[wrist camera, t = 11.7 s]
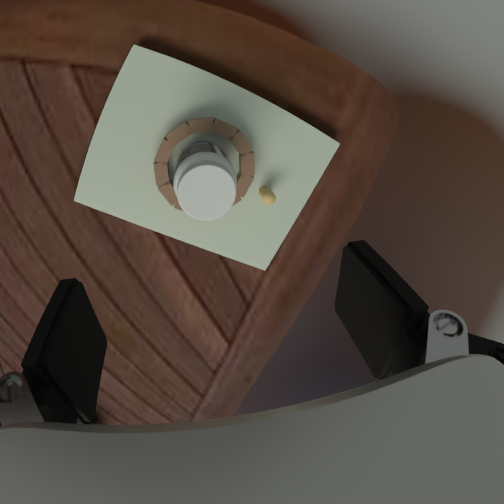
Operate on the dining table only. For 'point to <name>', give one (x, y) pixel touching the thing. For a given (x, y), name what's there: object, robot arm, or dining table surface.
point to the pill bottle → (204, 181)
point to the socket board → (195, 130)
